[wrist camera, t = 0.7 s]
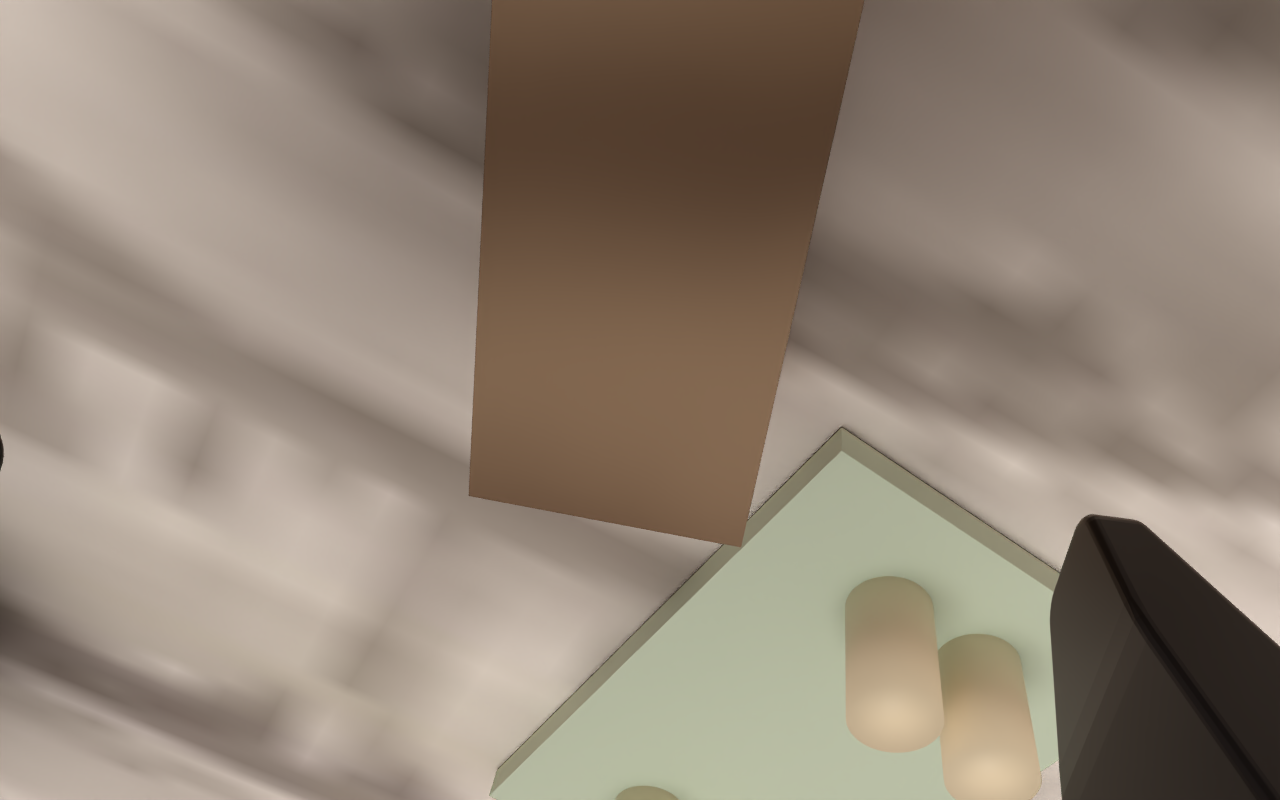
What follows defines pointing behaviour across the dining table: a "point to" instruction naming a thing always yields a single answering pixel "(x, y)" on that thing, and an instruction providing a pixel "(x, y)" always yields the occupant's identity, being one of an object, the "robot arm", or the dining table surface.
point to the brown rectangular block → (646, 248)
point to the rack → (823, 661)
